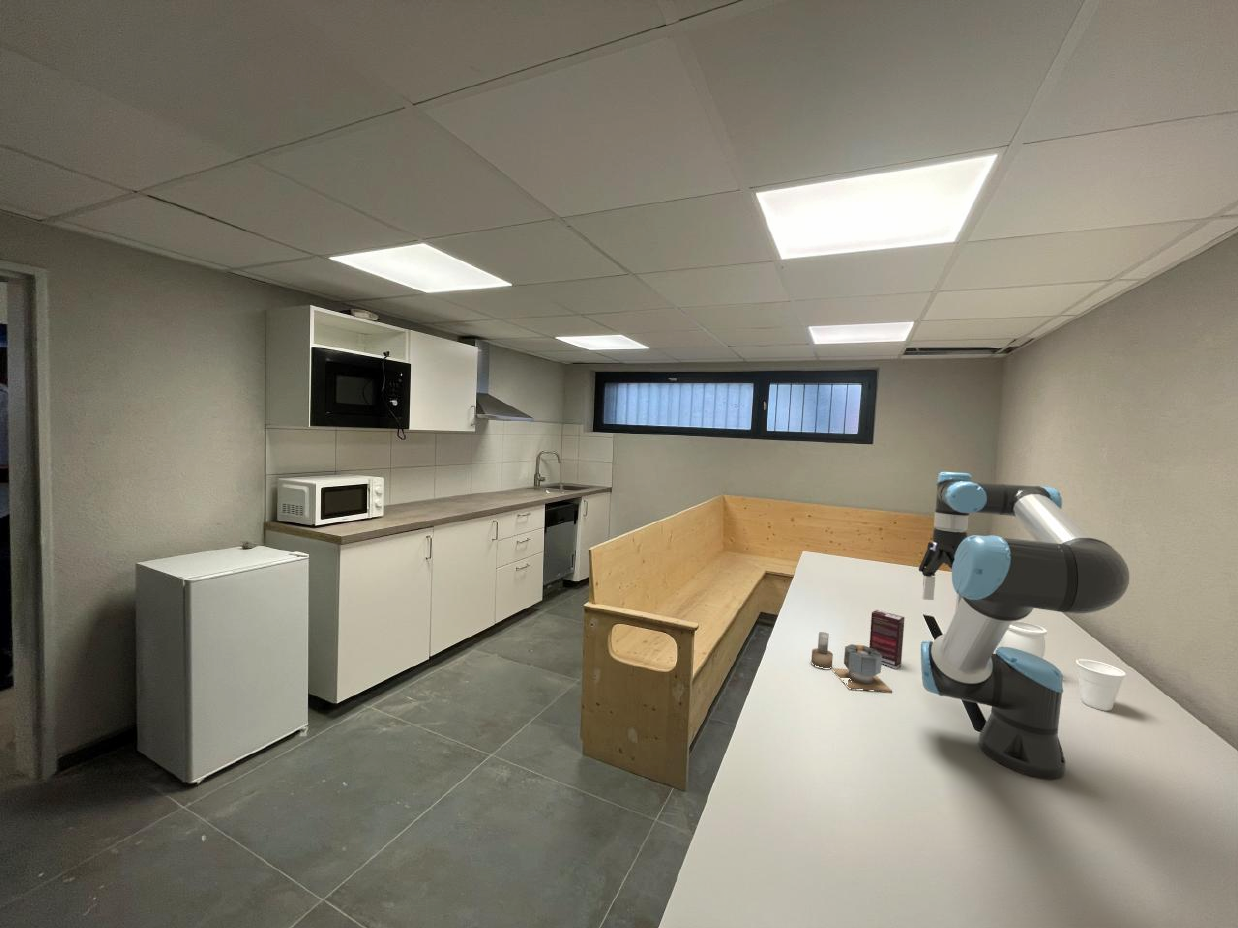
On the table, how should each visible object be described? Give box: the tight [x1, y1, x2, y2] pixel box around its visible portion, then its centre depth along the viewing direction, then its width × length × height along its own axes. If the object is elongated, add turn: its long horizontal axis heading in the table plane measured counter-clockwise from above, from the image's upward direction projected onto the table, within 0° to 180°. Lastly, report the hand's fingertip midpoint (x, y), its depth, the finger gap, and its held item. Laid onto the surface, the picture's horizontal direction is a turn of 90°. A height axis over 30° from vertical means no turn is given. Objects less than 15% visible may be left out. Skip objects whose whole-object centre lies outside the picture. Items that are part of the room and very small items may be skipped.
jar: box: [1001, 620, 1048, 659], centre depth 154 cm, size 11×10×15 cm
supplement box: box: [868, 609, 905, 670], centre depth 156 cm, size 9×5×16 cm, turn 43°
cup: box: [1075, 658, 1127, 712], centre depth 135 cm, size 10×10×11 cm
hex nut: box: [843, 643, 882, 676], centre depth 142 cm, size 9×9×5 cm
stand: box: [810, 631, 834, 668], centre depth 151 cm, size 6×6×10 cm
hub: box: [831, 651, 893, 693], centre depth 142 cm, size 12×12×8 cm
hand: (943, 607), depth 131 cm, fingers open, 13 cm apart
